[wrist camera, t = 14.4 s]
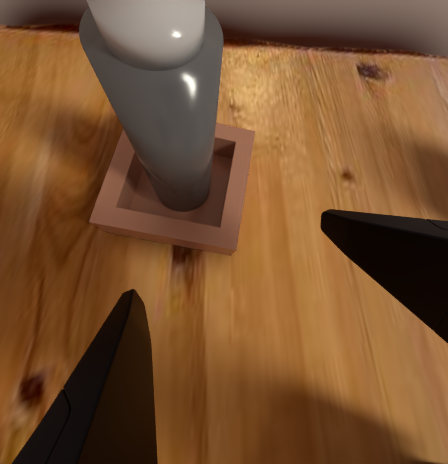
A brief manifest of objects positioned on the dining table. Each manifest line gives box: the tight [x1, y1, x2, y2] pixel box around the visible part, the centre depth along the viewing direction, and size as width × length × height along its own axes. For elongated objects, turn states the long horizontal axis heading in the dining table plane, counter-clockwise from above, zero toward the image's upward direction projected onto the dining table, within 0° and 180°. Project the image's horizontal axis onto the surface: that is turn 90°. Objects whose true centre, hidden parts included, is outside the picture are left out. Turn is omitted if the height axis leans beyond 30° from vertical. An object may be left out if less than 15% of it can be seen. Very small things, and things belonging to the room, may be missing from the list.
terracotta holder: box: [89, 123, 255, 256], centre depth 18 cm, size 11×11×3 cm
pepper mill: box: [79, 0, 223, 212], centre depth 13 cm, size 5×5×13 cm
